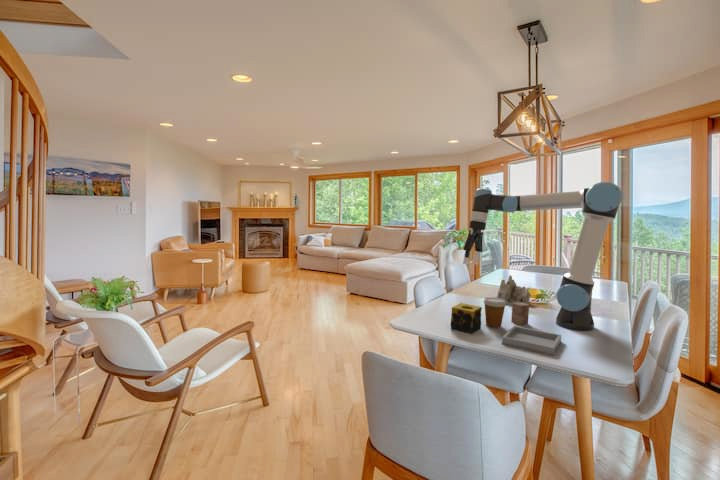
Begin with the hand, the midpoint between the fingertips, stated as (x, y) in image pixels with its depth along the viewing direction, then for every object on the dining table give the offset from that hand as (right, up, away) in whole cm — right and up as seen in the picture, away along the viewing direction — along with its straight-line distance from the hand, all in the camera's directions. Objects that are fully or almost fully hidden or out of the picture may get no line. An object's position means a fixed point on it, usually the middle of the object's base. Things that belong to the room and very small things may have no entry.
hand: (470, 264), depth 179 cm
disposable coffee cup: (+6, -27, -13) cm, 31 cm away
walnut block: (+20, -27, -8) cm, 34 cm away
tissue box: (-8, -27, -18) cm, 34 cm away
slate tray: (+14, -29, -33) cm, 46 cm away
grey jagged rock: (+33, -24, +31) cm, 51 cm away
